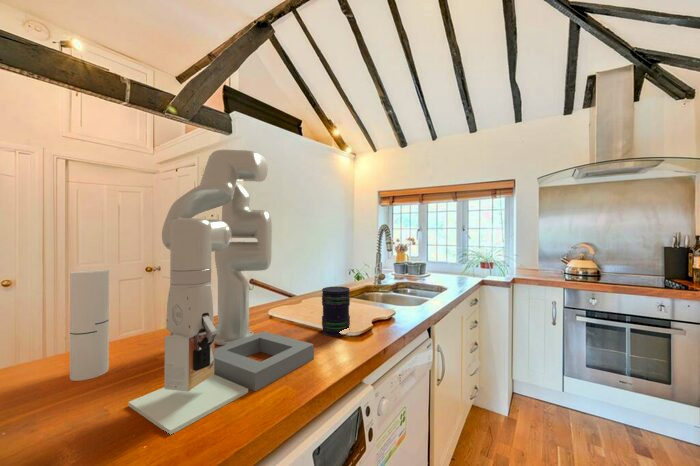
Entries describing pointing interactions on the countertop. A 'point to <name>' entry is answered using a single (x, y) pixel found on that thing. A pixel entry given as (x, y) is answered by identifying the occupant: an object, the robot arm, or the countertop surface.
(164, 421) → the sage tile
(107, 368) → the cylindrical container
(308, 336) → the countertop surface
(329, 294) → the storage jar
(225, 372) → the pocket block
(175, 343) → the small box
